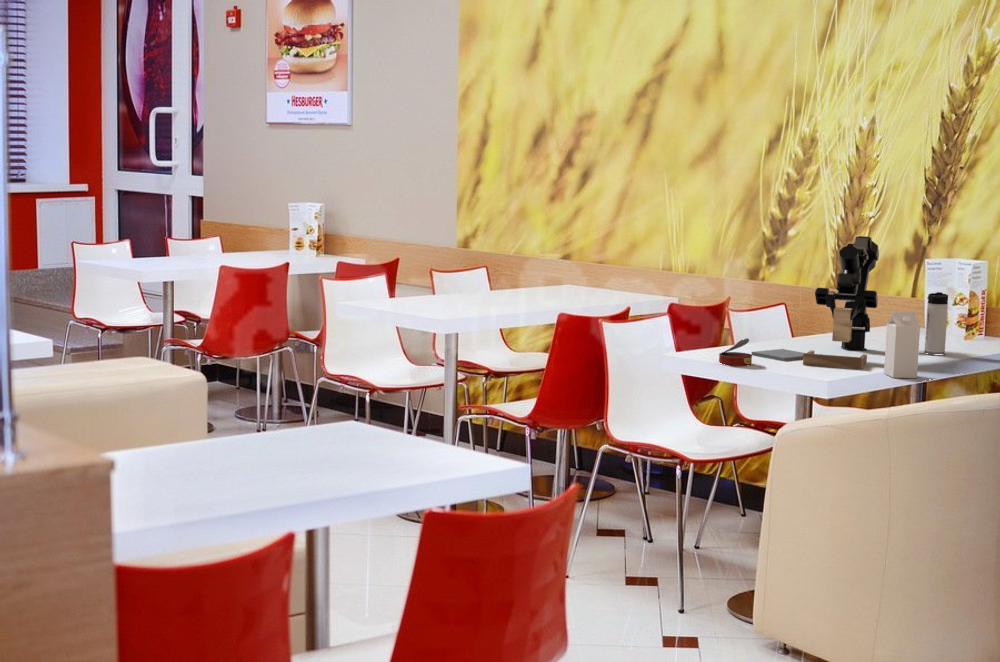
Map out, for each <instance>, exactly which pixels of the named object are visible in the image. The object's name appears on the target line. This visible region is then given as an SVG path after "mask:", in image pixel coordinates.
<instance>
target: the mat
mask: <svg viewBox="0 0 1000 662" xmlns="http://www.w3.org/2000/svg"><path fill="white" fill-rule="evenodd" d="M804 353H805V352H803V351H797V350H796V351H795V350H792V349H785V348H778V349H769V350H768V349H767V350H759V351H758V350H755V351H751V355H752V356H755V357H760V358H765V359H766V358H767V359H770V360H775V361H781V362H789V361H797V360H803V354H804Z"/></svg>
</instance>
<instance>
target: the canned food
mask: <svg viewBox="0 0 1000 662" xmlns="http://www.w3.org/2000/svg"><path fill="white" fill-rule="evenodd" d="M749 342H750V339H749V338H747V337H746V338H744V339H741V340H739V341H737V342H736V343H735V344H734V345H732V346H731V347H730V348H728V349H727V350H725V351H722V352H720V353H719V355H718V356H719V357H718V363H719V362H720V363H722V364H725V365H724V366H726V365H729V366H728V367H748V366H747V365H750V366H752V362H753V359H752V357H753V355H752V353H751V354H750V353H748V352H747V353H746V352H738V351H737V352H736V351H733V350H737V349H739V348H741V347H743V346H745V345H747V344H748V343H749ZM722 364H721V365H722Z"/></svg>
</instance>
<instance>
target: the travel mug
mask: <svg viewBox="0 0 1000 662" xmlns="http://www.w3.org/2000/svg"><path fill="white" fill-rule="evenodd" d="M927 296H928V297H927V307H926V308H927V310H926V324H925V325H926V326H925V337H924V338H925V340H924V354H925V353H928V354H944V355H945V352H946V340H947V339H946V337H947V323H948V311H949V310H948V307H949V302H948V301H949V294H947V293H943V292H940V291H939V292H937V291H936V292H932V293H929V294H927Z"/></svg>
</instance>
